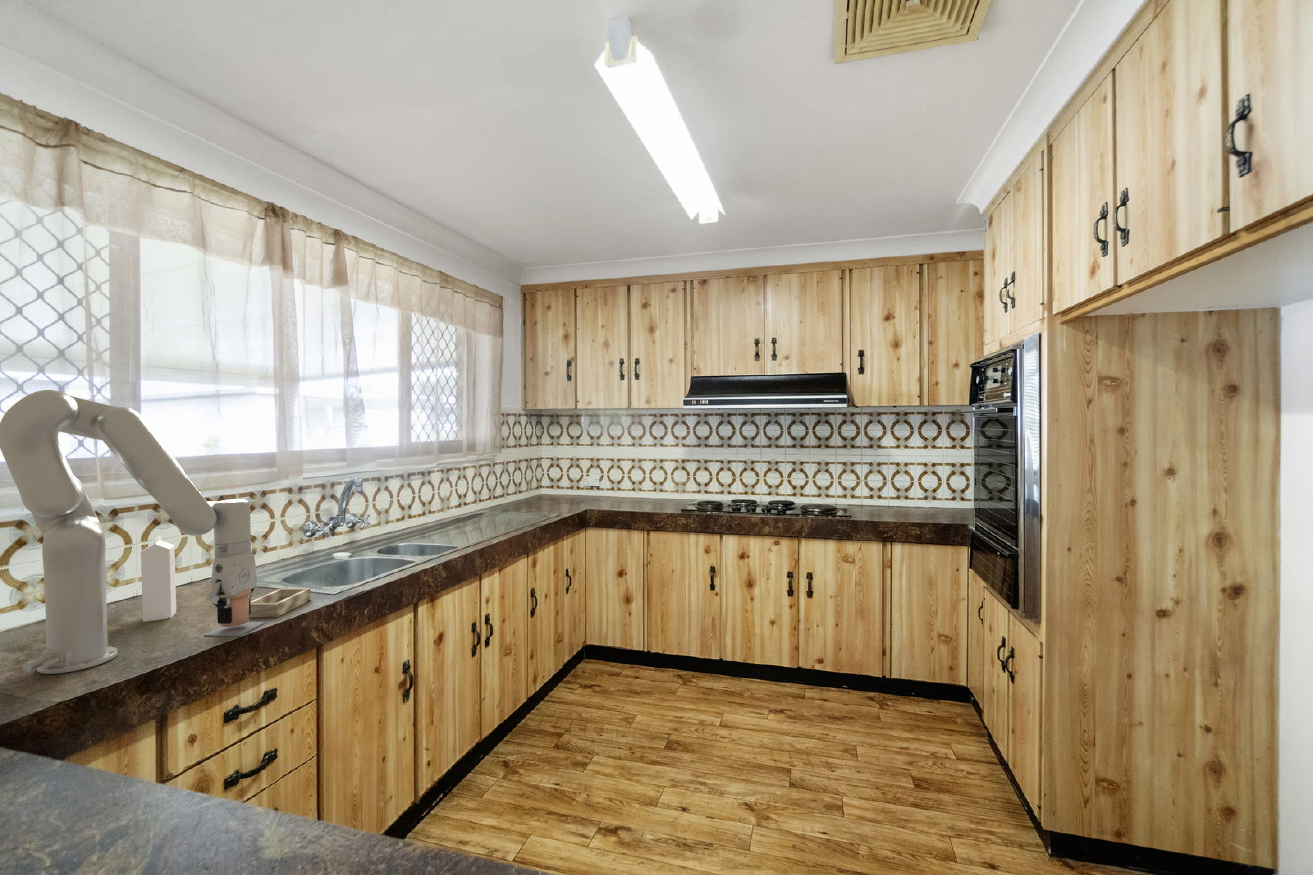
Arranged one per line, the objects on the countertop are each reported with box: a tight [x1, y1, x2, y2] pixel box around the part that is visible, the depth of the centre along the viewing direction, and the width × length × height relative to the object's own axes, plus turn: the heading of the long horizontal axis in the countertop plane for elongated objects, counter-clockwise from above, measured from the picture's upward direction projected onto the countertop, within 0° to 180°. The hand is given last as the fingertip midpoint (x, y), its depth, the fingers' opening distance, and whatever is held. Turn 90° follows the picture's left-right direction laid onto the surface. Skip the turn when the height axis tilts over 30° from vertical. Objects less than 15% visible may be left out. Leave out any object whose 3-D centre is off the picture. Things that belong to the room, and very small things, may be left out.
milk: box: [140, 534, 177, 623], centre depth 158 cm, size 6×6×22 cm
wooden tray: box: [249, 587, 312, 618], centre depth 165 cm, size 15×9×4 cm, turn 0°
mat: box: [203, 621, 266, 637], centre depth 148 cm, size 9×9×1 cm
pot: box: [219, 589, 251, 627], centre depth 147 cm, size 7×7×8 cm
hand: (234, 618), depth 148 cm, fingers closed on pot, 5 cm apart
